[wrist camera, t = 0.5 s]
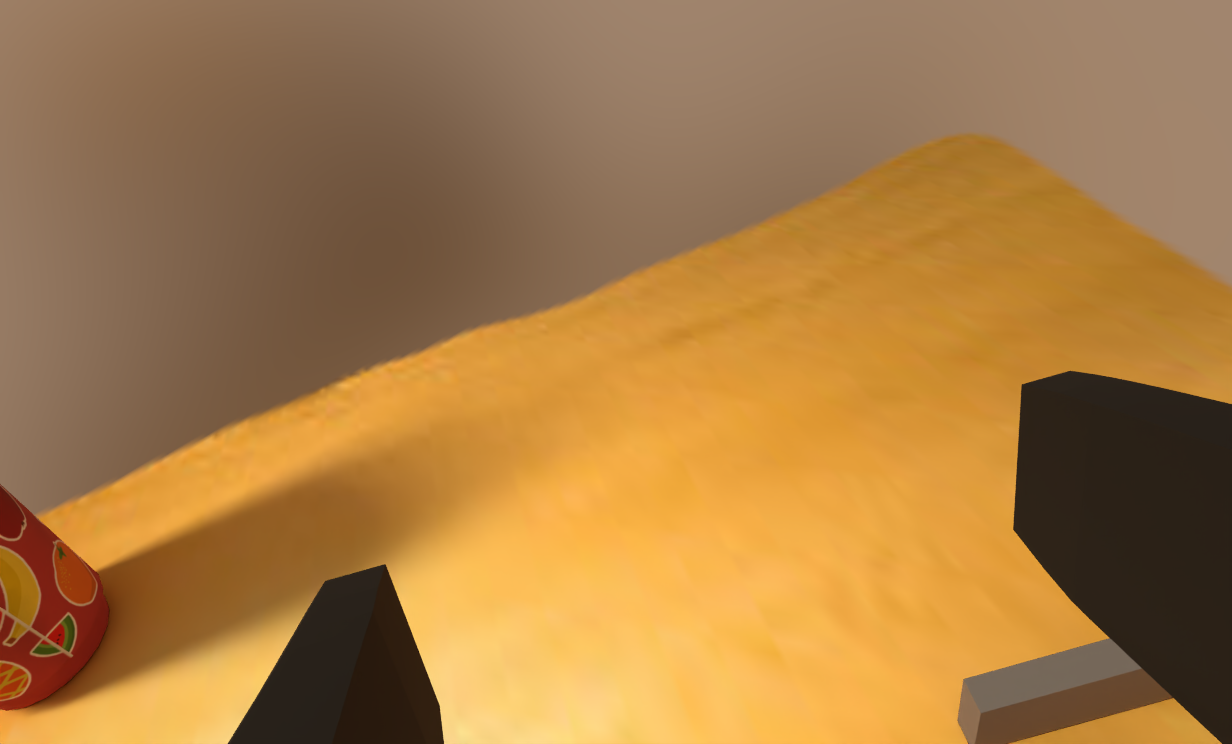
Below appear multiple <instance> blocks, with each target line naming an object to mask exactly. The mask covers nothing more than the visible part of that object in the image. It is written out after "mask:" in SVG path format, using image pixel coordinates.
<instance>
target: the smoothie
mask: <svg viewBox="0 0 1232 744" xmlns="http://www.w3.org/2000/svg"><path fill="white" fill-rule="evenodd" d="M108 616H109V607H108V604H107V601H106V598H105V596H104V595H103V587H102V584H101V581H100V577H99V574H98V573H97V572H95V571H94V570H93V569H92V568H91V567H90V566H89V565H88V564H87V563H86V562H85V561H83V560H82V559H81V558H80V557H79V556H78V555H77V554H76V553H75V552H74V551H73V550H71V549H70V548H69V547H68V546H67V545H66V544H65V543H64V542H63V541H62V540H61V539H59V538H58V537H57V536H56V535H55V534H54V533H53V532H52V531H51V530H50V529H49V528H48V527H46V526H45V525H44V524H43V523H42V522H41V521H40V520H39V519H38V518H37V517H36V516H34V515H33V514H32V513H31V512H30V511H29V510H28V509H27V508H26V507H25V506H24V505H22V504H21V503H20V502H19V501H18V500H17V499H16V498H15V497H14V496H13V495H11V494H10V493H9V492H8V491H7V490H6V489H5V488H4V487H3V486H2V485H1V484H0V709H2V710H6V711H7V710H13V709H18V708H24V707H27V706H29V705H32V704H34V703H36V702H38V701H40V700H43V699H45V698H47V697H48V696H50V695H51V694H52V693H54V692H55V691H57V690H58V689H59V688H61V687H62V686H63V685H65V684H66V683H68V682H69V681H70V680H71V679H72V678H73V677H74V676H75V675H76V674H77V672H78V671H79V670H80V669H81V668H82V667H83V666H84V665H85V664H86V663H87V662H88V660H89V659H90V657H91V656H92V654H93V653H94V652H95V650H96V649H97V647H98V646H99V644H100V642H101V639H102V637H103V635H104V633H105V630H106V628H107V625H108Z"/></svg>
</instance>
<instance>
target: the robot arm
mask: <svg viewBox="0 0 1232 744" xmlns="http://www.w3.org/2000/svg"><path fill="white" fill-rule="evenodd" d="M1013 530H1014V531H1015V532H1016V533H1017V535H1018V536H1019V537H1020V539H1021V540H1022V541H1023V542H1024V544H1025V545H1026V546H1027V547H1028V549H1029V550H1030V551H1031V553H1032V554H1033V555H1034V556H1035V558H1036V559H1037V560H1038V562H1039V563H1040V564H1041V565H1042V567H1043V568H1044V569H1045V570H1046V571H1047V573H1048V574H1049V575H1050V576H1051V577H1052V579H1053V580H1054V581H1055V582H1056V583H1057V584H1058V586H1059V587H1060V588H1061V589H1062V590H1063V591H1064V593H1065V594H1066V595H1067V596H1068V597H1069V599H1070V600H1071V601H1072V602H1073V603H1074V604H1075V605H1076V606H1077V607H1078V608H1079V609H1080V610H1081V611H1082V612H1083V613H1084V614H1085V615H1086V616H1087V617H1088V618H1089V619H1090V620H1092V621H1093V622H1094V623H1095V624H1096V625H1097V626H1098V627H1099V628H1100V629H1101V630H1102V631H1103V632H1104V633H1105V634H1106V635H1107V636H1108V637H1109V638H1110V639H1111V640H1112V641H1114V642H1115V643H1116V644H1117V645H1118V646H1119V647H1120V648H1121V649H1122V650H1123V651H1124V652H1125V653H1126V654H1127V655H1128V656H1129V657H1130V658H1131V659H1132V660H1133V661H1135V662H1136V663H1137V664H1138V665H1139V666H1140V667H1141V668H1142V669H1143V670H1144V671H1145V672H1146V673H1147V674H1148V675H1150V676H1151V677H1152V678H1153V679H1154V680H1155V681H1156V682H1157V683H1158V684H1159V685H1160V686H1161V687H1162V688H1163V689H1164V690H1166V691H1167V692H1168V693H1169V694H1170V695H1171V696H1172V697H1173V698H1174V699H1175V700H1176V701H1177V702H1178V703H1179V704H1181V705H1182V706H1183V707H1184V708H1185V709H1186V710H1187V711H1188V712H1189V713H1190V714H1191V715H1192V716H1193V717H1194V718H1195V719H1197V720H1198V721H1199V722H1200V723H1201V724H1202V725H1203V726H1204V727H1205V728H1206V729H1207V730H1208V731H1209V732H1210V733H1211V734H1213V735H1214V736H1215V737H1216V738H1217V739H1218V740H1219V741H1220V742H1221V743H1222V744H1232V404H1228V403H1224V402H1220V401H1216V400H1211V399H1207V398H1203V397H1198V396H1194V395H1190V394H1186V393H1181V392H1177V391H1173V390H1168V389H1164V388H1160V387H1155V386H1150V385H1146V384H1141V383H1136V382H1132V381H1127V380H1122V379H1117V378H1112V377H1106V376H1101V375H1095V374H1088V373H1081V372H1075V371H1068V372H1065V373H1061V374H1057V375H1054V376H1050V377H1047V378H1043V379H1040V380H1036V381H1033V382H1029V383H1026V384H1022V390H1021V407H1020V424H1019V441H1018V458H1017V475H1016V493H1015V510H1014V527H1013ZM228 744H444V740H443V731H442V722H441V714H440V706H439V703H438V700H437V698H436V695H435V692H434V690H433V687H432V685H431V682H430V679H429V677H428V674H427V672H426V669H425V666H424V664H423V661H422V659H421V656H420V653H419V651H418V648H417V645H416V643H415V640H414V638H413V635H412V632H411V630H410V627H409V625H408V622H407V619H406V617H405V614H404V612H403V609H402V606H401V604H400V601H399V598H398V596H397V593H396V591H395V588H394V585H393V583H392V580H391V578H390V575H389V572H388V570H387V567H386V565H385V564H384V565H381V566H377V567H374V568H370V569H366V570H363V571H359V572H356V573H352V574H349V575H345V576H342V577H338V578H335V579H331V580H327V581H325V582H324V584H323V586H322V587H321V589H320V590H319V592H318V593H317V595H316V597H315V598H314V600H313V602H312V603H311V605H310V607H309V608H308V610H307V612H306V613H305V615H304V617H303V618H302V620H301V622H300V624H299V625H298V627H297V629H296V630H295V632H294V634H293V636H292V637H291V639H290V641H289V643H288V644H287V646H286V648H285V649H284V651H283V653H282V655H281V656H280V658H279V660H278V662H277V663H276V665H275V667H274V668H273V670H272V672H271V673H270V675H269V677H268V679H267V680H266V682H265V684H264V685H263V687H262V689H261V690H260V692H259V694H258V695H257V697H256V699H255V700H254V702H253V704H252V705H251V707H250V709H249V710H248V712H247V713H246V715H245V717H244V718H243V720H242V721H241V723H240V725H239V726H238V728H237V730H236V731H235V733H234V734H233V736H232V738H231V739H230V741H229V743H228Z"/></svg>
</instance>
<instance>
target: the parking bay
mask: <svg viewBox="0 0 1232 744" xmlns="http://www.w3.org/2000/svg"><path fill="white" fill-rule="evenodd" d="M1170 698H1173V697H1172V696H1171V695H1170V694H1169V693H1168V692H1167V691H1166V690H1164V689H1163V688H1162V687H1161V686H1160V685H1159V684H1158V683H1157V682H1156V681H1155V680H1154V679H1153V678H1152V677H1151V676H1150V675H1148V674H1147V673H1146V672H1145V671H1144V670H1143V669H1142V668H1141V667H1140V666H1139V665H1138V664H1137V663H1136V662H1135V661H1133V660H1132V659H1131V658H1130V657H1129V656H1128V655H1127V654H1126V653H1125V652H1124V651H1123V650H1122V649H1121V648H1120V647H1119V646H1118V645H1117V644H1116V643H1115V642H1114V641H1112V640H1111V639H1110V638H1109V639H1106V640H1102V641H1099V642H1095V643H1091V644H1088V645H1084V646H1081V647H1077V648H1074V649H1070V650H1066V651H1063V652H1059V653H1056V654H1052V655H1048V656H1045V657H1041V658H1038V659H1034V660H1031V661H1027V662H1023V663H1020V664H1016V665H1013V666H1009V667H1006V668H1002V669H998V670H995V671H991V672H988V673H984V674H980V675H977V676H973V677H970V678H966V679H963V686H962V693H961V700H960V706H959V713H958V720H957V721H958V723H959V725H960V727H961V729H962V731H963V733H964V735H965V737H966V739H967V741H968V743H969V744H1007V743H1011V742H1014V741H1018V740H1022V739H1025V738H1029V737H1033V736H1036V735H1040V734H1043V733H1047V732H1051V731H1054V730H1058V729H1062V728H1065V727H1069V726H1072V725H1076V724H1080V723H1083V722H1087V721H1091V720H1094V719H1098V718H1101V717H1105V716H1109V715H1112V714H1116V713H1120V712H1123V711H1127V710H1130V709H1134V708H1138V707H1141V706H1145V705H1149V704H1152V703H1156V702H1159V701H1163V700H1167V699H1170Z"/></svg>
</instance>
